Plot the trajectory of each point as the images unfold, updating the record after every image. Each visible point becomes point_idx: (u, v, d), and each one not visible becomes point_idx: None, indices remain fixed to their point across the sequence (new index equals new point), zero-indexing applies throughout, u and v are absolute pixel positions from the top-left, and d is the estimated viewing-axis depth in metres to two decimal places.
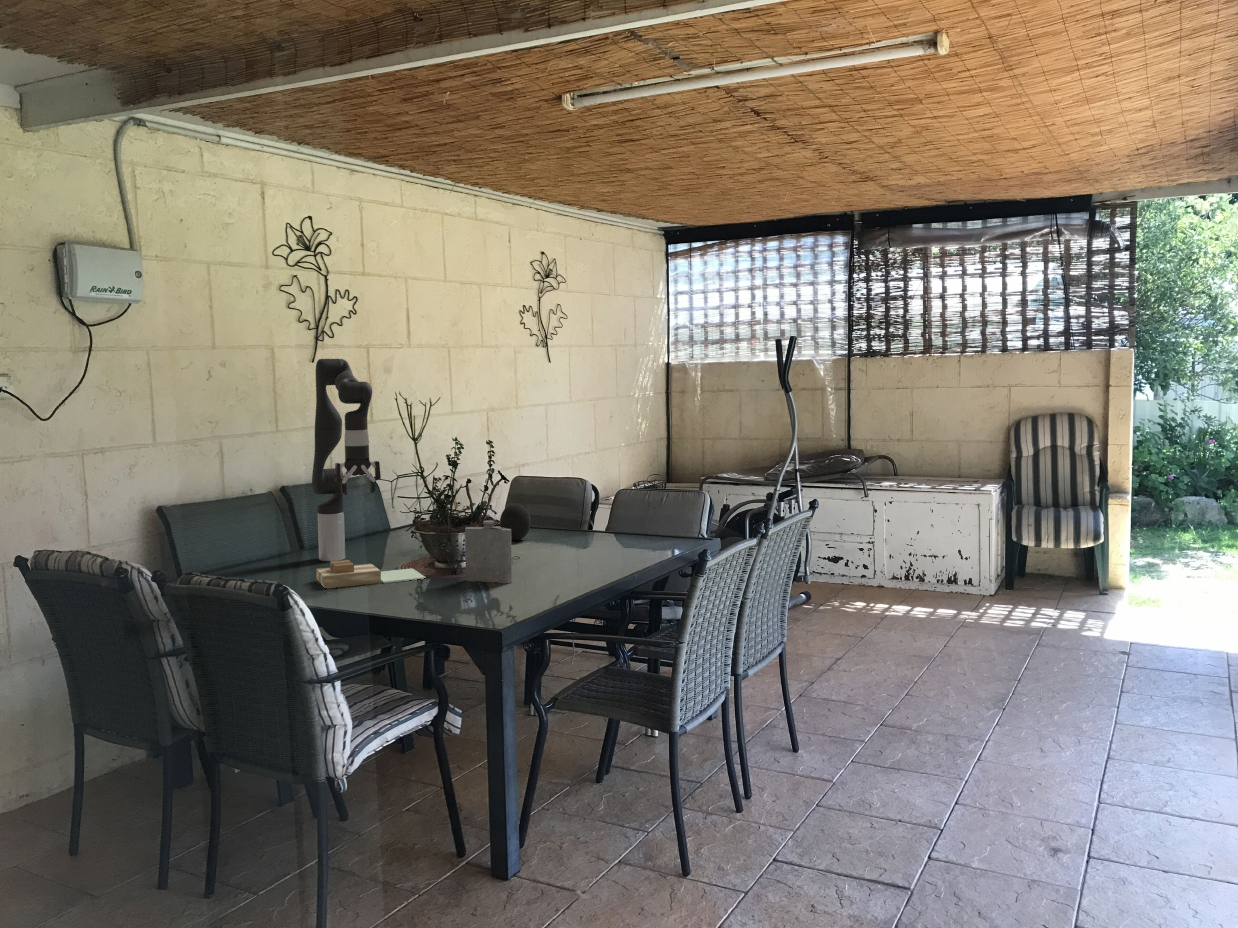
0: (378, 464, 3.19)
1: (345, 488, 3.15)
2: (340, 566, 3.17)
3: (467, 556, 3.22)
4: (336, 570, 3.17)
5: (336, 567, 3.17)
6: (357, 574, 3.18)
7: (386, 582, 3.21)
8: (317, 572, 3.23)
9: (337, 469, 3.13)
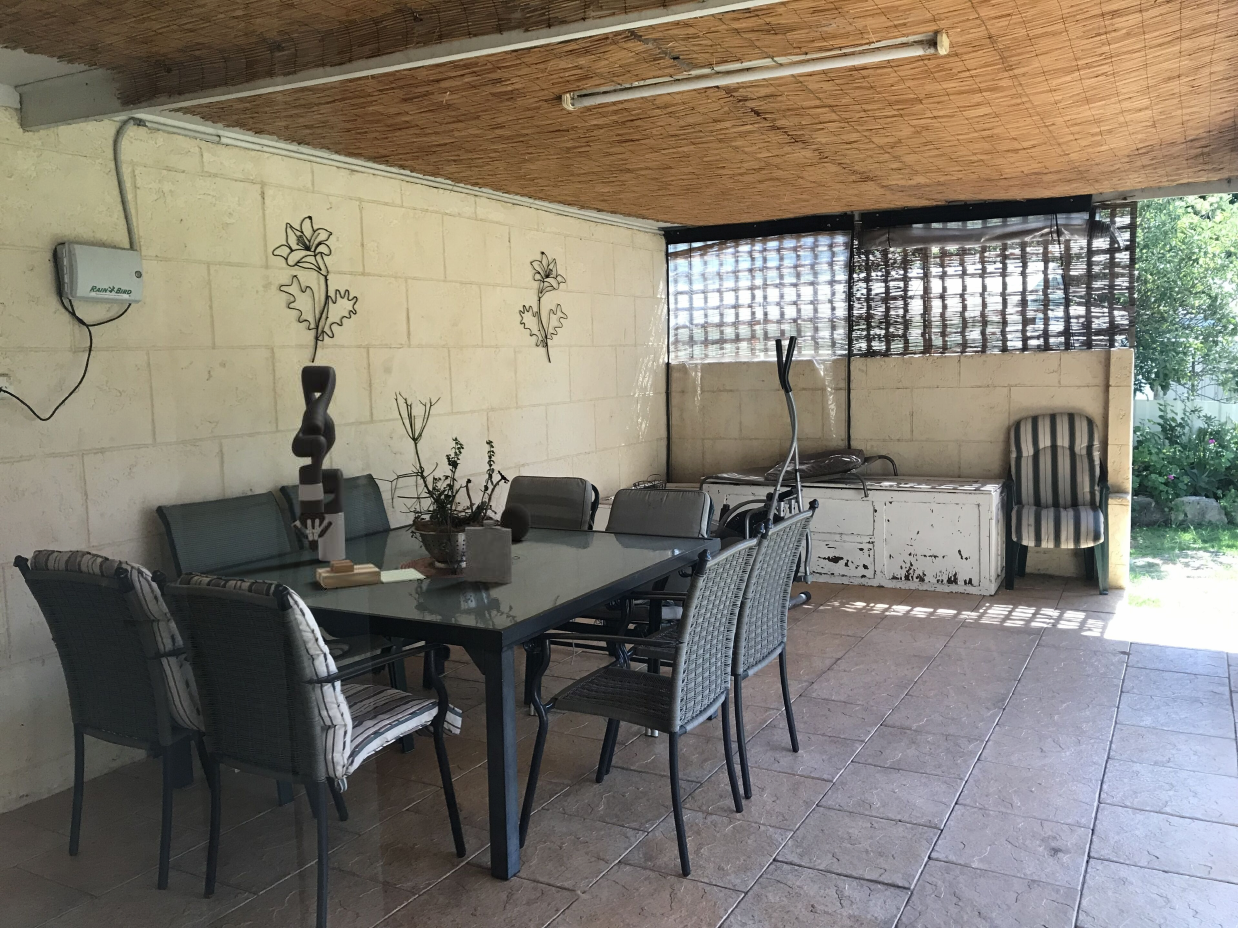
0: (330, 524, 3.17)
1: (312, 545, 3.15)
2: (340, 566, 3.17)
3: (467, 556, 3.22)
4: (336, 570, 3.17)
5: (336, 567, 3.17)
6: (357, 574, 3.18)
7: (386, 582, 3.21)
8: (317, 572, 3.23)
9: (296, 529, 3.13)
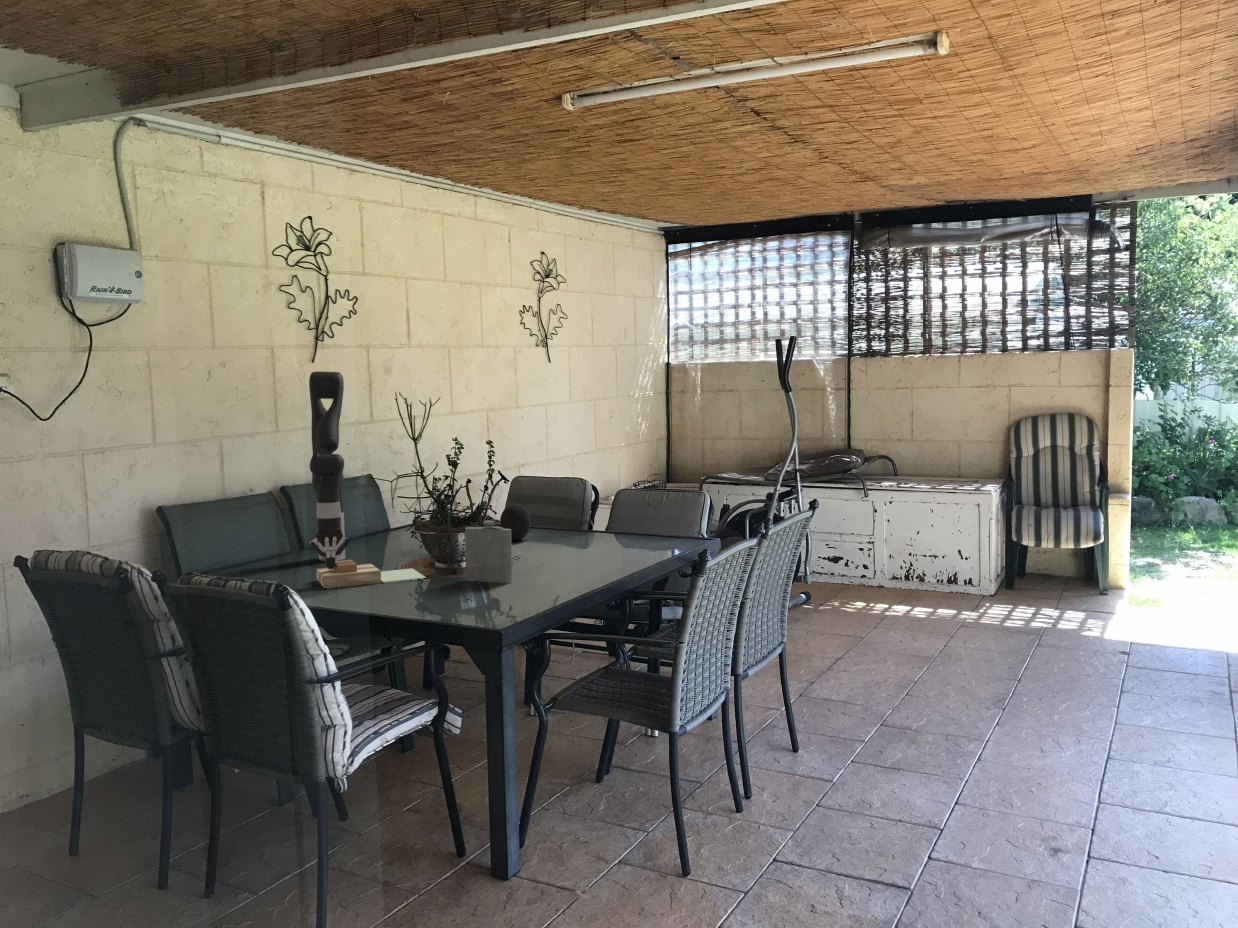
0: (347, 542, 3.20)
1: (329, 562, 3.19)
2: (343, 566, 3.18)
3: (467, 556, 3.22)
4: (339, 570, 3.17)
5: (339, 567, 3.17)
6: (357, 574, 3.18)
7: (386, 582, 3.21)
8: (317, 572, 3.23)
9: (314, 547, 3.16)
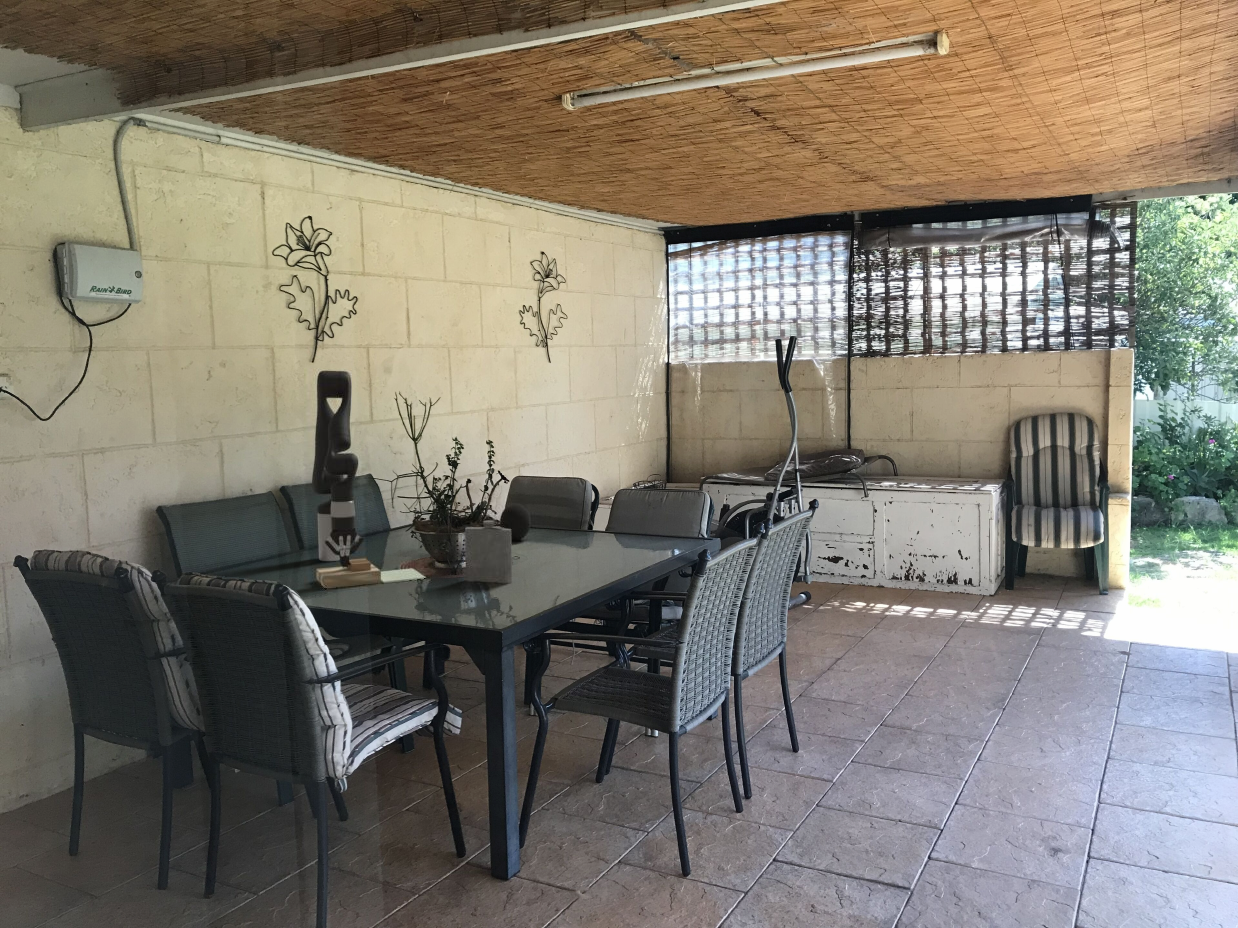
0: (361, 541, 3.22)
1: (343, 561, 3.21)
2: (357, 564, 3.20)
3: (467, 556, 3.22)
4: (353, 568, 3.19)
5: (353, 565, 3.19)
6: (357, 574, 3.18)
7: (386, 582, 3.21)
8: (317, 572, 3.23)
9: (329, 546, 3.18)
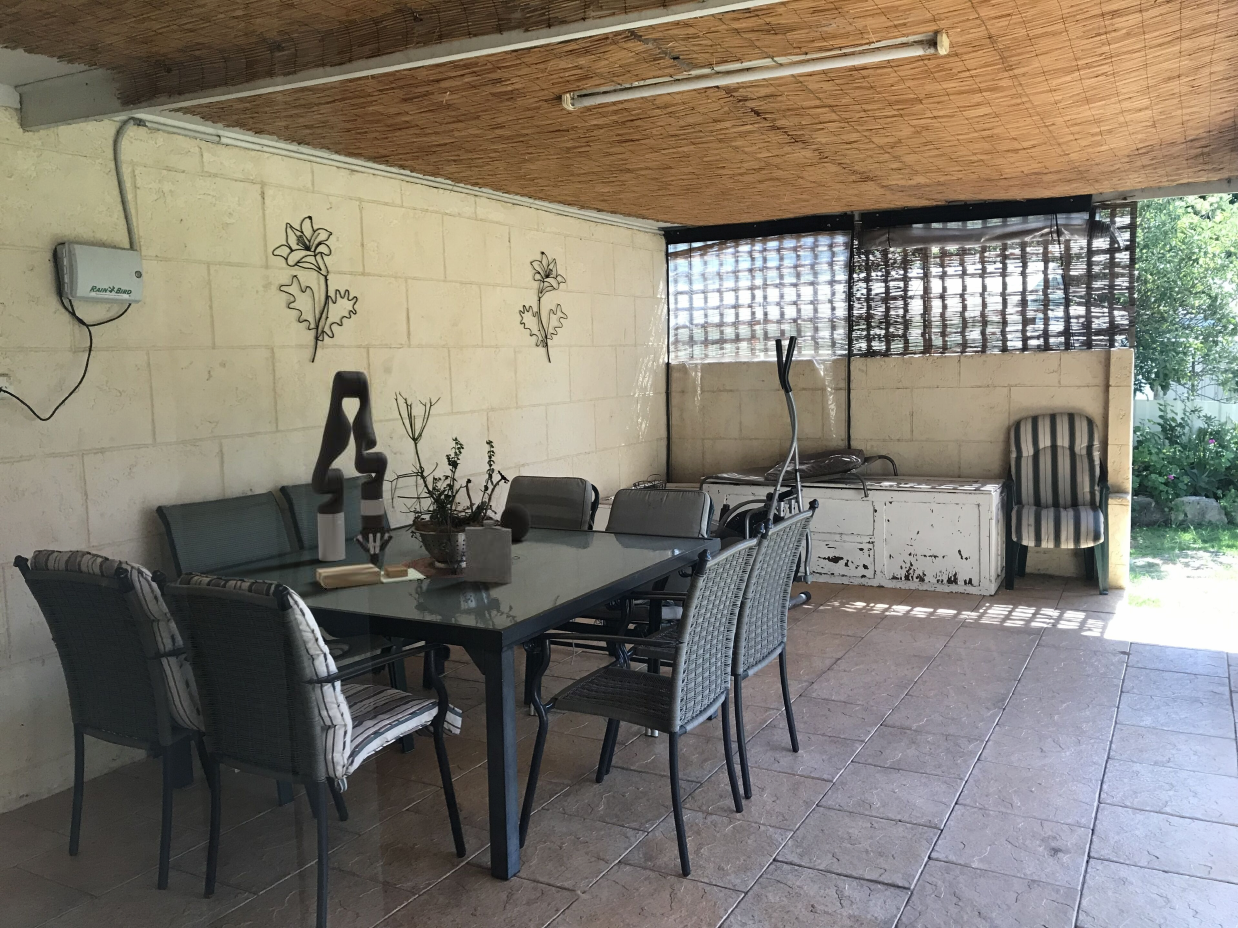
0: (390, 538, 3.27)
1: (373, 558, 3.25)
2: (403, 575, 3.27)
3: (467, 556, 3.22)
4: (406, 571, 3.28)
5: (406, 574, 3.28)
6: (357, 574, 3.18)
7: (386, 582, 3.21)
8: (317, 572, 3.23)
9: (359, 543, 3.22)
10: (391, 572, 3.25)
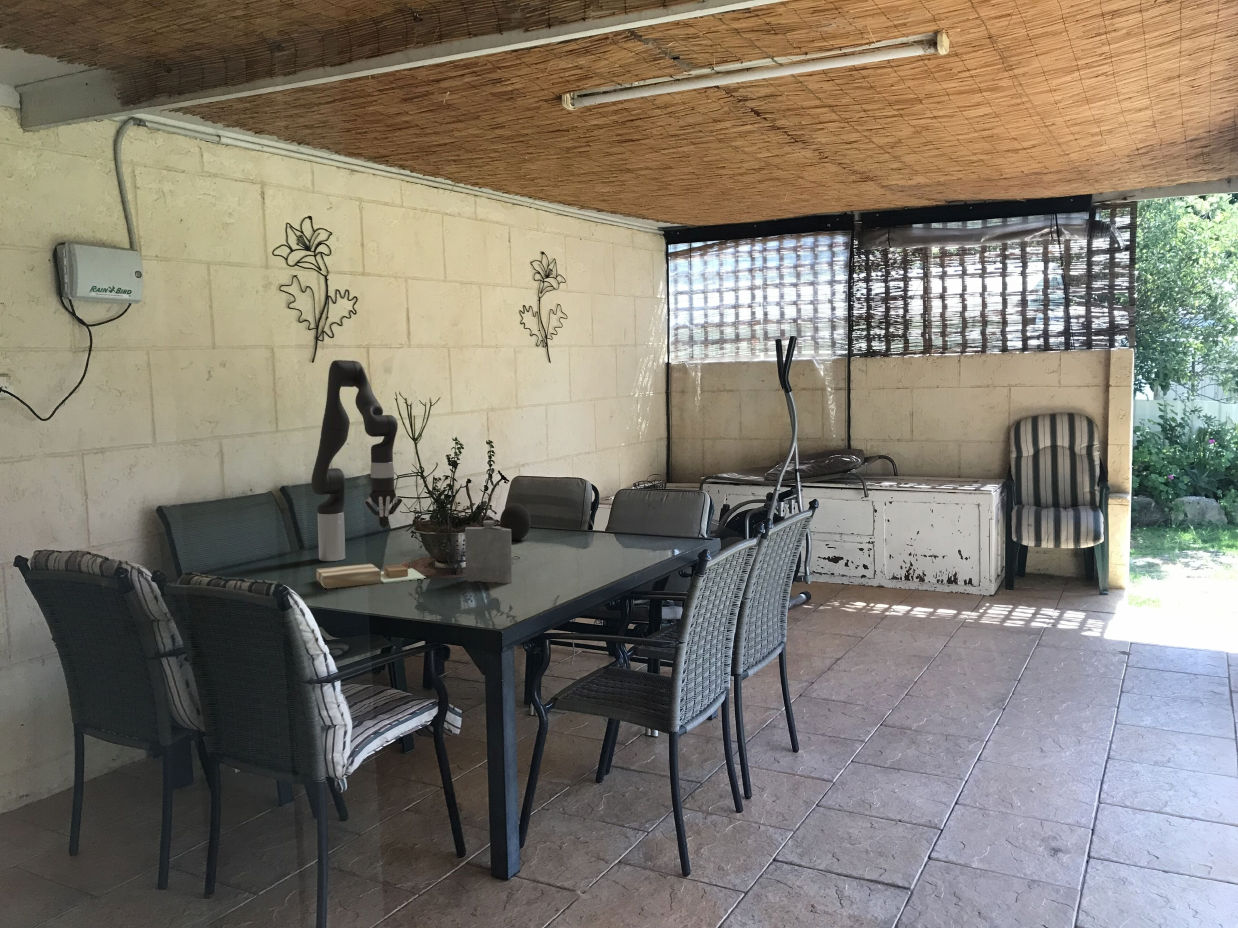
0: (400, 502, 3.27)
1: (383, 521, 3.25)
2: (403, 575, 3.27)
3: (467, 556, 3.22)
4: (406, 571, 3.28)
5: (406, 574, 3.28)
6: (357, 574, 3.18)
7: (386, 582, 3.21)
8: (317, 572, 3.23)
9: (368, 506, 3.23)
10: (391, 572, 3.25)
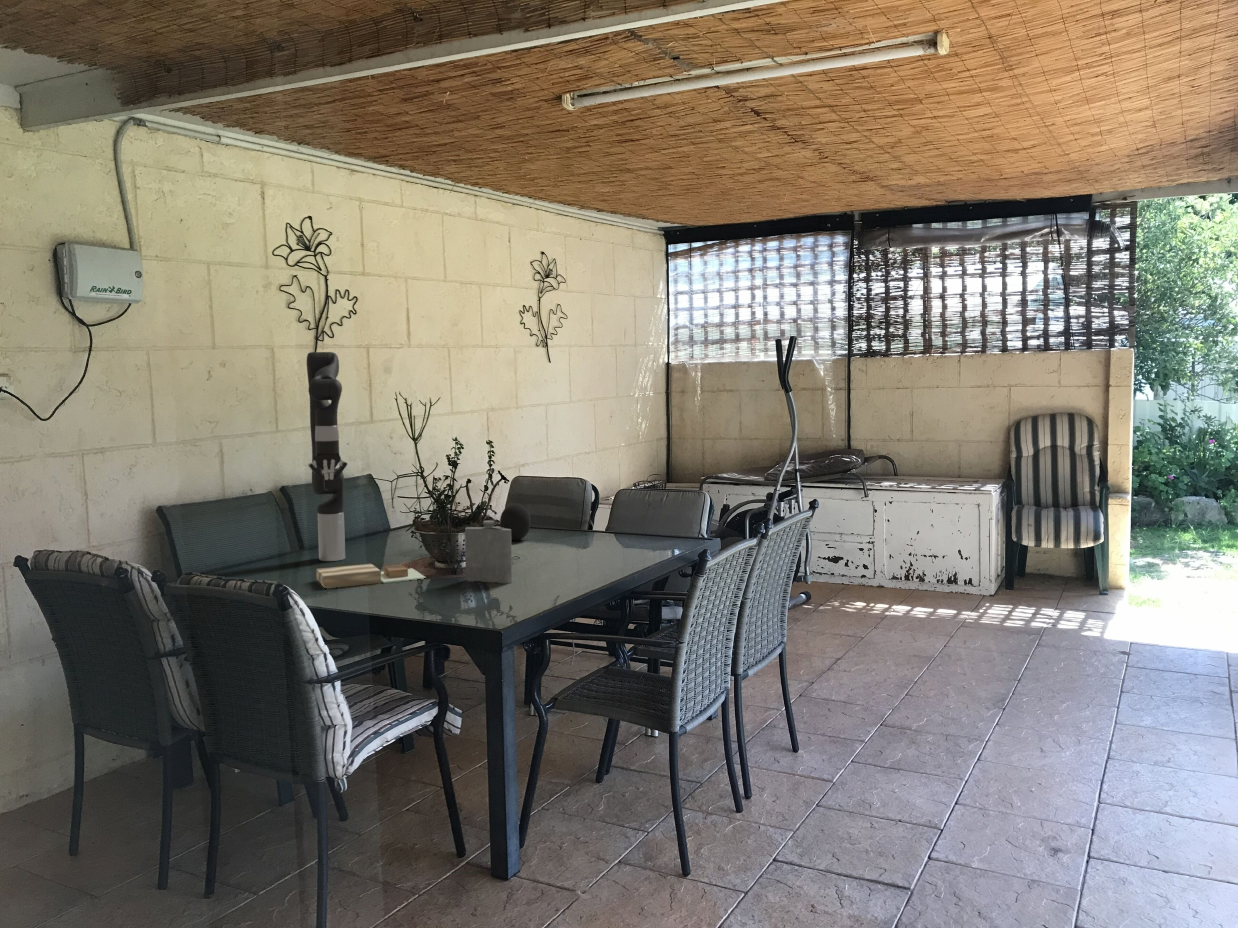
0: (345, 465, 3.31)
1: (328, 484, 3.29)
2: (403, 575, 3.27)
3: (467, 556, 3.22)
4: (406, 571, 3.28)
5: (406, 574, 3.28)
6: (357, 574, 3.18)
7: (386, 582, 3.21)
8: (317, 572, 3.23)
9: (313, 469, 3.26)
10: (391, 572, 3.25)
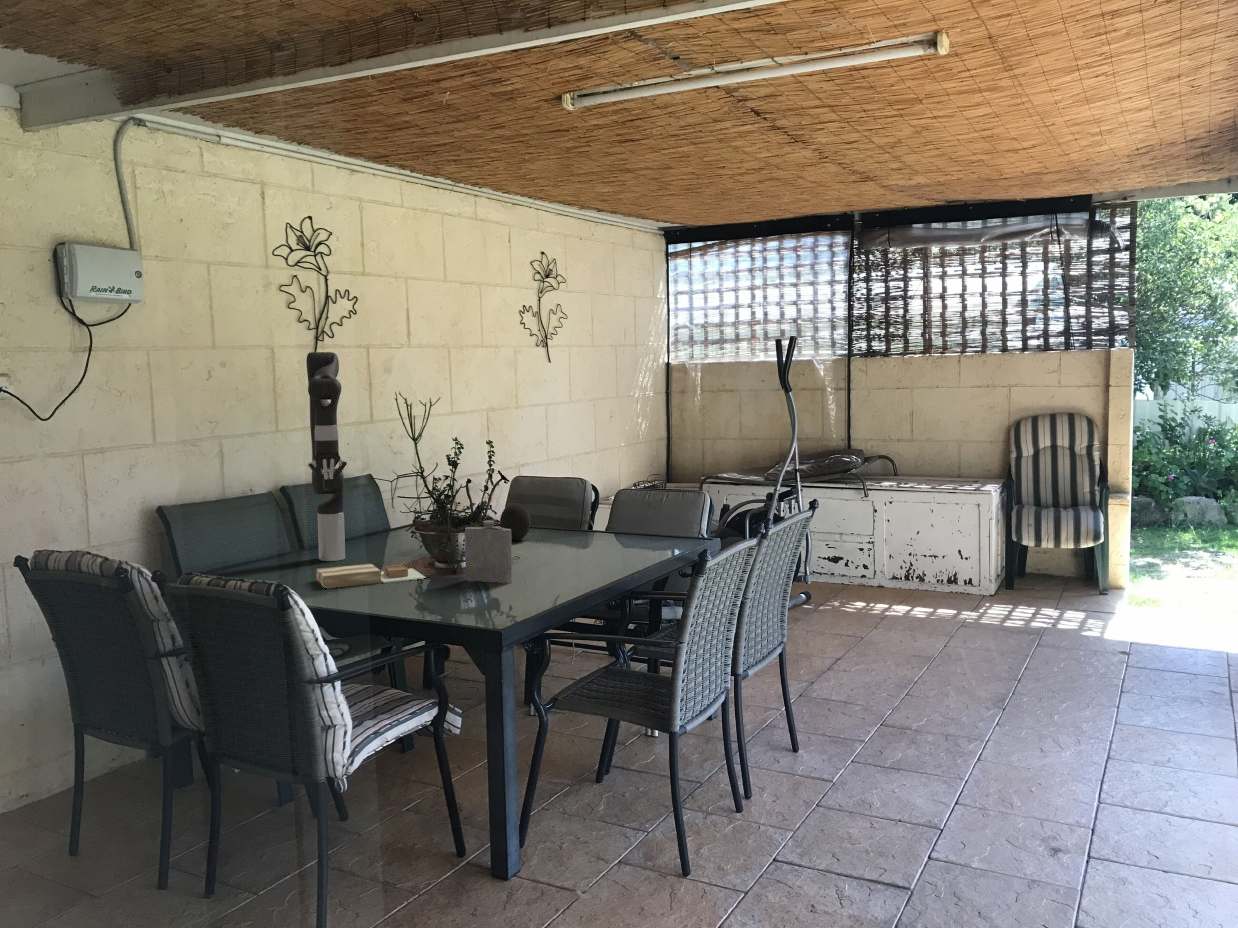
0: (344, 465, 3.31)
1: (327, 484, 3.29)
2: (403, 575, 3.27)
3: (467, 556, 3.22)
4: (406, 571, 3.28)
5: (406, 574, 3.28)
6: (357, 574, 3.18)
7: (386, 582, 3.21)
8: (317, 572, 3.23)
9: (313, 469, 3.26)
10: (391, 572, 3.25)
